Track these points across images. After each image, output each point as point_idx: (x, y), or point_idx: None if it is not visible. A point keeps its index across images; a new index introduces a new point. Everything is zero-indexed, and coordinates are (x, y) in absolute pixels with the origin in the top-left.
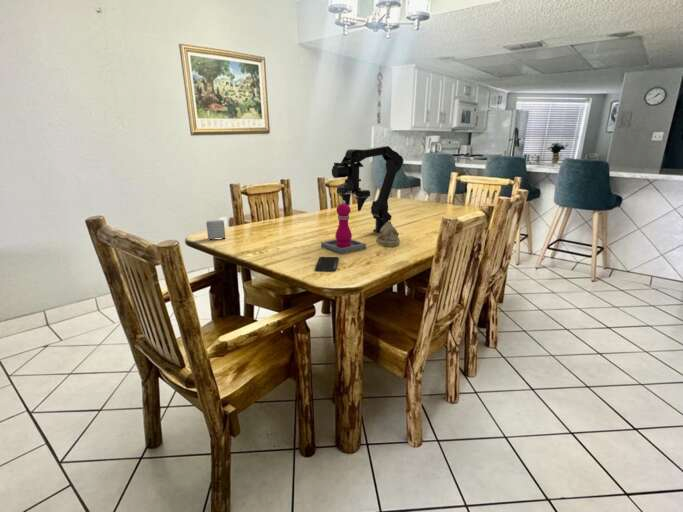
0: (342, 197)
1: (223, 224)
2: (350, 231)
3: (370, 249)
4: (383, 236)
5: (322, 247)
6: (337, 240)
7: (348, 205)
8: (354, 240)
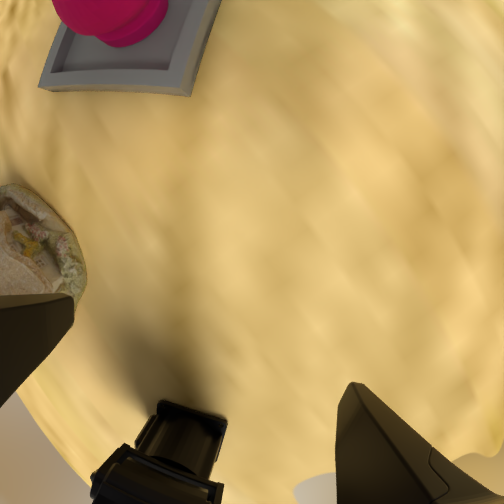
0: (492, 500)
1: None
2: (54, 6)
3: (37, 100)
4: (19, 233)
5: None
6: (188, 16)
7: (336, 443)
8: (99, 78)
